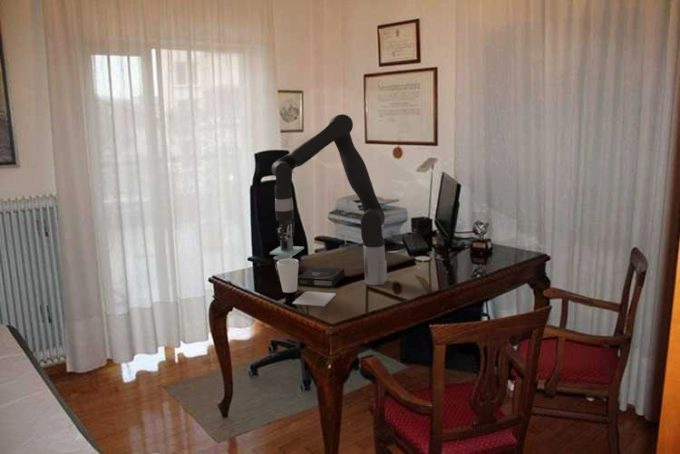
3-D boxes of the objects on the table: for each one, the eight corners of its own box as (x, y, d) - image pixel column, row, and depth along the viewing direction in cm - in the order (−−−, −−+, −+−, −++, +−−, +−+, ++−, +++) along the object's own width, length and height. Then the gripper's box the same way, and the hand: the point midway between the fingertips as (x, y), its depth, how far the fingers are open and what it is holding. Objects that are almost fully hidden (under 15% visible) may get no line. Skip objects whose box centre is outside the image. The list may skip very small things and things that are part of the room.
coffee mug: (290, 280, 261) (289, 259, 259) (273, 280, 263) (271, 259, 260) (297, 272, 272) (296, 252, 270) (280, 272, 274) (278, 252, 271)
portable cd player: (297, 286, 254) (296, 278, 253) (312, 274, 270) (311, 266, 269) (331, 288, 249) (331, 280, 248) (344, 276, 264) (344, 268, 263)
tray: (336, 294, 240) (336, 293, 240) (324, 306, 227) (324, 305, 227) (305, 292, 245) (305, 291, 245) (292, 303, 232) (292, 303, 232)
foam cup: (279, 287, 253) (277, 259, 250) (300, 285, 253) (298, 257, 250) (279, 294, 244) (276, 265, 240) (300, 293, 244) (298, 264, 241)
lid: (304, 248, 247) (303, 235, 245) (293, 255, 237) (292, 242, 235) (280, 247, 250) (280, 234, 249) (269, 254, 240) (268, 241, 239)
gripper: (285, 212, 231) (288, 253, 235) (299, 205, 244) (301, 243, 248) (268, 212, 234) (271, 252, 238) (283, 205, 247) (285, 243, 251)
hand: (287, 247), depth 243 cm, fingers closed on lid, 4 cm apart
